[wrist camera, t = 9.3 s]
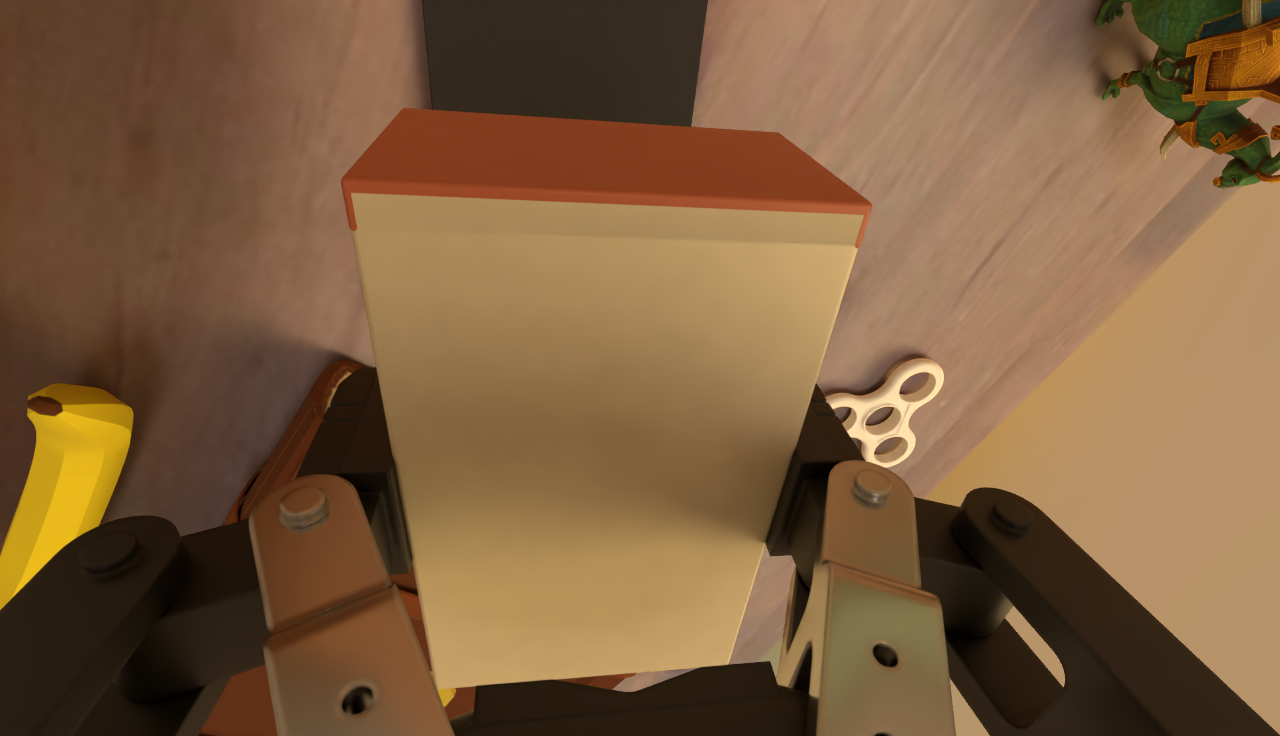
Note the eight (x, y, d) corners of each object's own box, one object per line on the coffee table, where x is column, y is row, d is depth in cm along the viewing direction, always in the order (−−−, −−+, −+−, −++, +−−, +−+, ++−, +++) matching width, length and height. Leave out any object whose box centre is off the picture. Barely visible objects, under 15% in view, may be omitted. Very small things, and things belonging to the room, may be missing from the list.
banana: (14, 575, 30) (-95, 705, 25) (106, 285, 23) (-23, 384, 17) (84, 590, 31) (-7, 717, 26) (193, 320, 24) (97, 423, 19)
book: (716, 528, 35) (740, 604, 31) (447, 767, 47) (438, 844, 43) (327, 346, 25) (287, 422, 21) (109, 707, 37) (56, 800, 33)
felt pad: (418, -55, 18) (416, -55, 18) (708, -23, 20) (711, -22, 19) (455, 341, 26) (454, 346, 26) (660, 342, 27) (661, 347, 27)
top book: (401, 107, 9) (338, 178, 6) (779, 132, 10) (874, 203, 7) (455, 548, 15) (434, 692, 12) (694, 536, 16) (729, 666, 13)
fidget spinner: (795, 420, 31) (800, 430, 30) (886, 327, 28) (895, 336, 28) (882, 467, 34) (889, 477, 33) (973, 386, 31) (981, 395, 31)
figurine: (1090, 171, 25) (1284, 248, 19) (1082, -172, 19) (1381, -240, 12) (1164, 135, 25) (1391, 202, 18) (1184, -229, 18) (1553, -334, 12)
